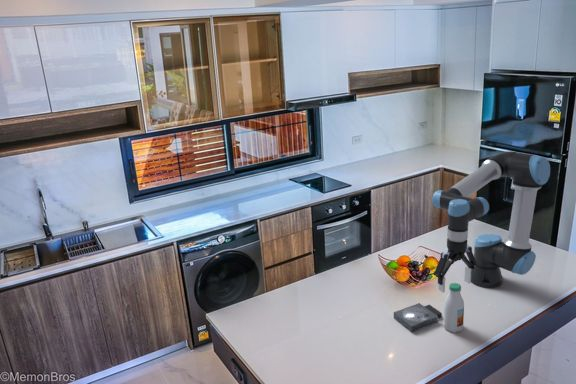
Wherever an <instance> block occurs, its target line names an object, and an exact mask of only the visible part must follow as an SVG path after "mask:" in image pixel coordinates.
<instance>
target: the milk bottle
mask: <svg viewBox="0 0 576 384" xmlns="http://www.w3.org/2000/svg"><path fill="white" fill-rule="evenodd" d="M461 291H462V286H461V284H460V283H456V282H452V283H451V282H450V284H449V286H448V294H447V296H446V298H445V299H444V307H443V308H444V309H443V327H444V329H445V330H446V331H448V332H451V333H459V332H461V331H462V330H463V329H464V318H465V317H464V315H465V301H464V298H463V296H462V294H461Z"/></svg>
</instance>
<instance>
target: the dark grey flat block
mask: <svg viewBox="0 0 576 384" xmlns="http://www.w3.org/2000/svg"><path fill="white" fill-rule="evenodd" d="M442 315H443V313H442V312H441V311H440V310H438V309H437V308H435V307H434V306H432V305H431V304H427V305H423V304H421V303H420V302H418V303H415V304H413V305H409V306H407V307H404V308H401V309H399V310H396V311H394V312H393V319H394V320H395V321H397V322H398V324H400V325H401V326H403V327H404V328H405V329H406V330H408V331H409V332H410V333H413V332H416V331H419V330H421V329H424V328H426V327H429V326H431V325H434V324H437V323H438V322H439V319H440V318H442V317H443V316H442Z"/></svg>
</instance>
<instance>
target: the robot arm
mask: <svg viewBox="0 0 576 384" xmlns="http://www.w3.org/2000/svg"><path fill="white" fill-rule="evenodd" d="M550 176H551V165H550V162H549V160H548V159H547V158H546V157H544V156H542V155H541V156H540V155H537V154H532V153H523V152H518V151H504V152H500V153H496V154H495V155H493V156H491V157H489V158H487V159H485V161H483V162H482V163H481V166H480V167H478V168H477V169H475V170H474V171H473V172H471V173H469V174H468V175H467V176H466V177H464V178H462V179H461V180H460V181H458V182H457V183H455V184H453V185H452V186H451V187H450V188H448V189H447V190H443V189H442V190H441V189H438V190H436V191H434V193H433V195H432V198H431V200H432V201H431V202H432V204H433V206H434V207H435V208H438V209H440V210H444V211H447V232H446V233H447V238H446V248H447V252H443V251H442V252H441V253H440V257H439V261H438V263H437V266H436V268H435V270H434V272H433V276H434V277H436V278H437V285H438V290H439V291H440V292H441V293H445V292H446V277H445V276H446V274H447V273H448V271H449V270H450V268H451V266H452V265H453V264H454V263H456V262H458V261H461V260H462V262H463V263H464V264H465V265H466V266H464V282H466V283H467V284H473V285H475V286H477V287H481V288H486V289H487V288H489V289H490V288H491V289H492V288H497V287H500V286H502V284H503V275H502V271H501V269H503V270H506V271H508V272H511V273H512V274H517V275H520V276H522V275H523V276H524V275H525V274H527V273H529V271H531V269H532V268H533V266H534V264H535V262H536V257H537V256H536V253H535V252H534V251H533V250H532V247H533V246H532V244H531V243H530V236H531V235H530V234H531V229H532V224H533V219H534V210H535V207H536V200H537V199H536V198H537V193H538V190H540V189H542V186H543V185H545V184H546V183H547V182H548V181H549V179H550ZM503 177H504V178H510V179H512V185H513V186H514V188H515V189H514V194H513V195H514V196H513V200H512V201H513V202H512V208H511V213H510V215H511V216H510V222H509V227H508V228H509V229H508V235H507V238H506V239H504V240H503V238H502V237H501V236H500V235H499V234H494V233H493V234H492V233H487V234H481V235H478V236H477V237H476V238H475V240H474V245H473V246H474V251H473V247H472V246H470V245H468V235H469V223H470V222H472V221H474V220H476V219H478V218H482V217H483V216H484V215H486V214H487V213H488V212H489V211H490V204H489V201H488V200H487V199H486V198H485V197H481V196H479V197H478V196H477V197H473V198H472V197H471V196H472V195H473V194H475V193H476V192H478V191H480V189H482V188H483V187H485V186H486V185H488V183H489V184H490V182H491V181H493V180H498V179H500V178H503ZM465 253H466V254H465Z"/></svg>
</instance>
